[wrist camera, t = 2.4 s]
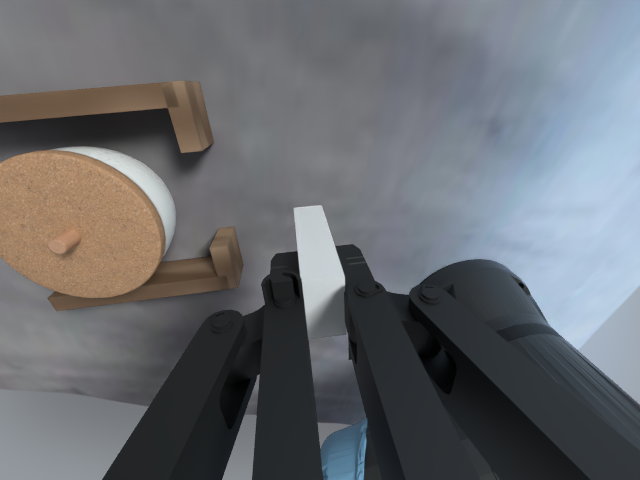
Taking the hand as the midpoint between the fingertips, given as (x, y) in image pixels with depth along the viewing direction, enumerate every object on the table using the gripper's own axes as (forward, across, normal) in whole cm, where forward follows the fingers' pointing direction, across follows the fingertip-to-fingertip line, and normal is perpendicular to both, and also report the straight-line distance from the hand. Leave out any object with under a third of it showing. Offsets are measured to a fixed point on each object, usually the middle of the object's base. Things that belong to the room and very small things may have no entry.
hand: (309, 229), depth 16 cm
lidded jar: (+12, +15, +1) cm, 20 cm away
